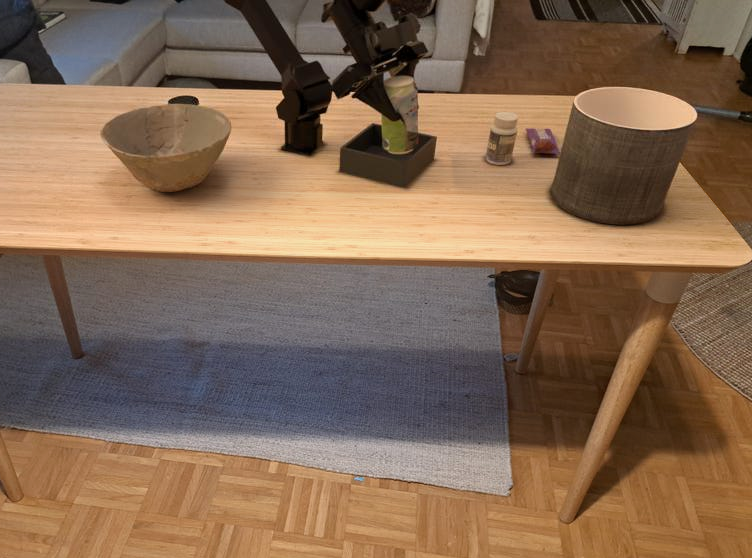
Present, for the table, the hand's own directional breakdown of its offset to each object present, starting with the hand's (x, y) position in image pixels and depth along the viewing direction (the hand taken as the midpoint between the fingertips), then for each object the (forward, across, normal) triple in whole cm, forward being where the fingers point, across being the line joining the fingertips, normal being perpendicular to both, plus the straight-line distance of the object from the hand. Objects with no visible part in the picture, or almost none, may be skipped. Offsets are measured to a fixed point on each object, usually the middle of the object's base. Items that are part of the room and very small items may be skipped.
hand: (405, 115), depth 112 cm
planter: (+29, +20, -11) cm, 37 cm away
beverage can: (+4, 0, +6) cm, 7 cm away
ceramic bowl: (-12, -26, +32) cm, 43 cm away
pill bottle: (+14, +21, +4) cm, 26 cm away
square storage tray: (+4, +5, +14) cm, 15 cm away
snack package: (+16, +33, +2) cm, 36 cm away
